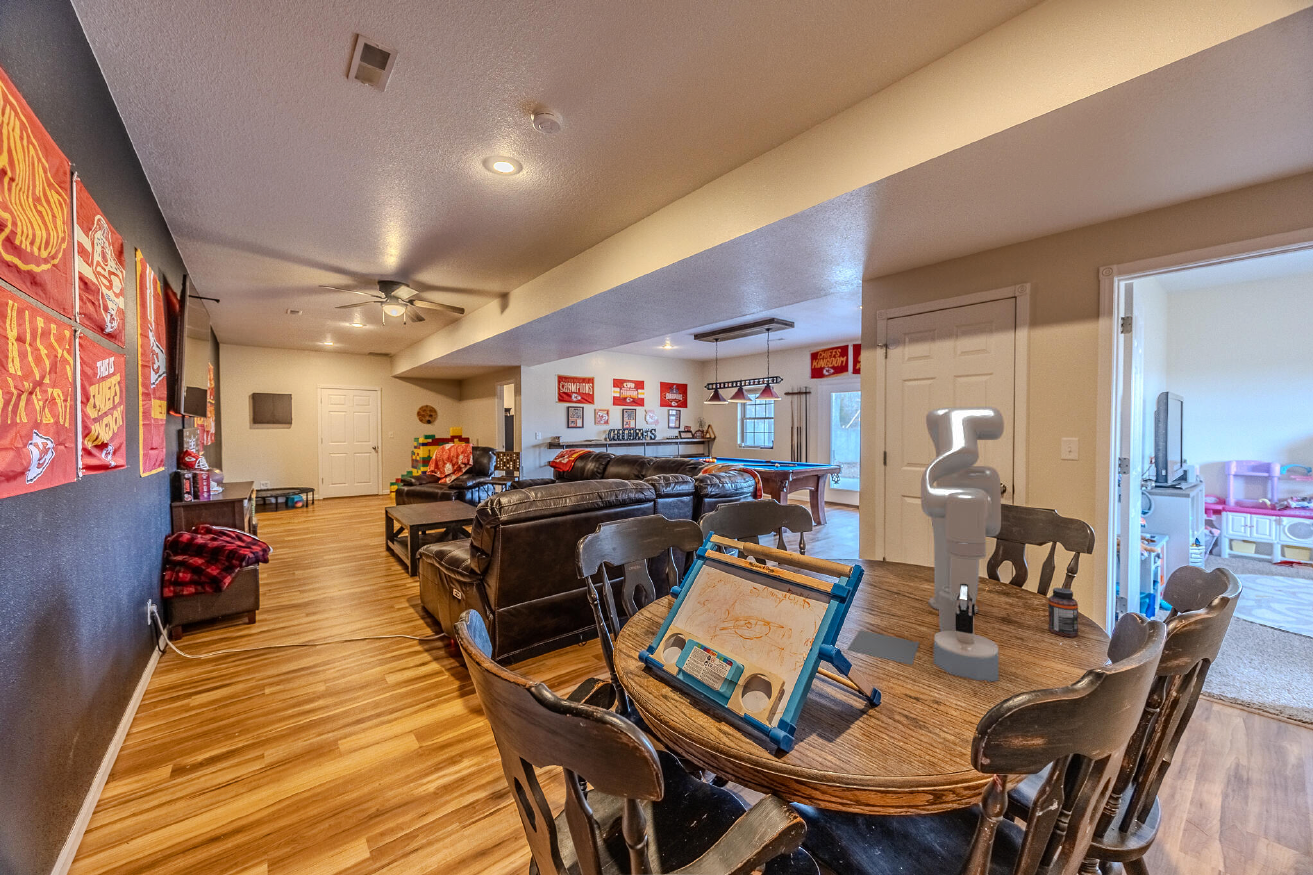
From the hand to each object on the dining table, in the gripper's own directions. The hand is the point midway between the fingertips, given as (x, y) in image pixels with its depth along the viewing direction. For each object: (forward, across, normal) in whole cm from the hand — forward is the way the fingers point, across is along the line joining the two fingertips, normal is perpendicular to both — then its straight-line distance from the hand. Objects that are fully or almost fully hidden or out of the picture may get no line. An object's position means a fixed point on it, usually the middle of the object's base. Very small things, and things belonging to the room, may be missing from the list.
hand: (965, 624), depth 110 cm
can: (+10, -20, -3) cm, 22 cm away
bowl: (+10, 0, 0) cm, 10 cm away
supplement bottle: (+10, -36, +20) cm, 42 cm away
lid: (+5, 0, 0) cm, 5 cm away
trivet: (+10, 0, -17) cm, 20 cm away
